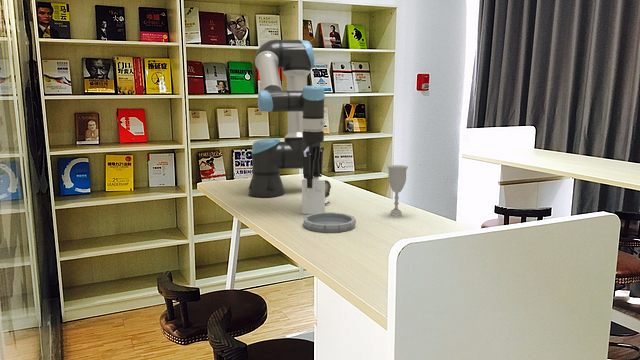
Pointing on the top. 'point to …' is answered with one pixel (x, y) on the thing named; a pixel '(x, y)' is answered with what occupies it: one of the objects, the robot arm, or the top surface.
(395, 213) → the chalice
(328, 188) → the eagle figurine
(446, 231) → the top surface
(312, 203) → the external hard drive
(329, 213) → the dish
